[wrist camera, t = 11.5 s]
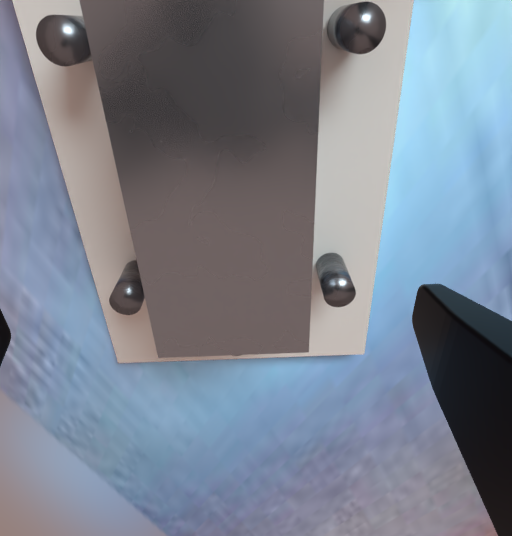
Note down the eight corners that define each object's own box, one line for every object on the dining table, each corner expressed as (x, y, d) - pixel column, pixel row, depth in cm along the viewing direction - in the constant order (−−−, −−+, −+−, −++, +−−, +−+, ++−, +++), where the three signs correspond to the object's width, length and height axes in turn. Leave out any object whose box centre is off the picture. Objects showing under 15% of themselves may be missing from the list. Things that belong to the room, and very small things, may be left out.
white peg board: (359, 342, 24) (376, 388, 21) (122, 351, 24) (104, 398, 21) (431, -205, 12) (489, -278, 9) (-26, -184, 12) (-114, -251, 9)
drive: (296, 283, 20) (308, 352, 16) (177, 287, 20) (158, 358, 16) (301, -5, 14) (324, -17, 10) (130, 2, 14) (77, -6, 10)
